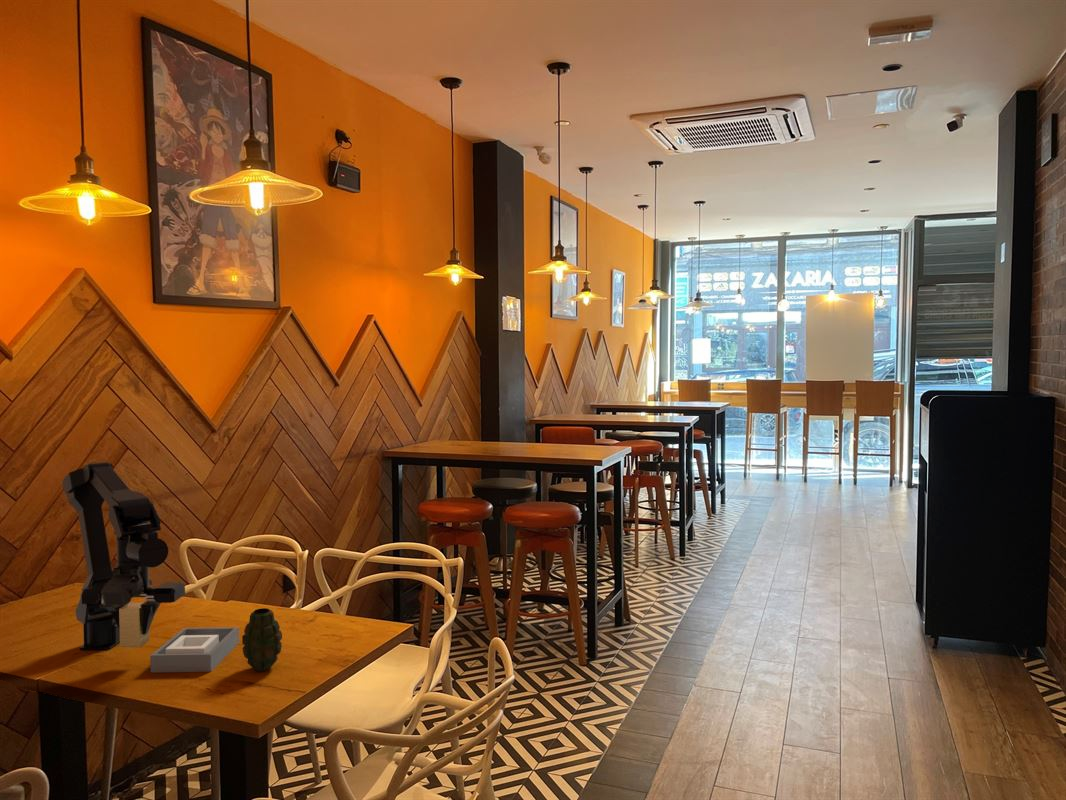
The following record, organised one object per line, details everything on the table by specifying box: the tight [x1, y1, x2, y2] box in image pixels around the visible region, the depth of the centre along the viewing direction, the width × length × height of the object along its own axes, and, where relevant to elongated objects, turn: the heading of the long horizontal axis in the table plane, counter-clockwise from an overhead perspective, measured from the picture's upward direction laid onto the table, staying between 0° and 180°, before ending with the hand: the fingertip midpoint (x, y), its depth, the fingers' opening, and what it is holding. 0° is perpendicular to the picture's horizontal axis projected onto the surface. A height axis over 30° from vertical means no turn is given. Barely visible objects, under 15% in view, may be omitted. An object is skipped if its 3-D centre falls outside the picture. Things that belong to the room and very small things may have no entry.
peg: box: [119, 602, 150, 649], centre depth 154 cm, size 4×4×8 cm
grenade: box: [241, 607, 283, 672], centre depth 153 cm, size 8×8×12 cm
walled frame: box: [149, 626, 240, 674], centre depth 159 cm, size 12×16×4 cm
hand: (134, 633), depth 154 cm, fingers closed on peg, 4 cm apart
